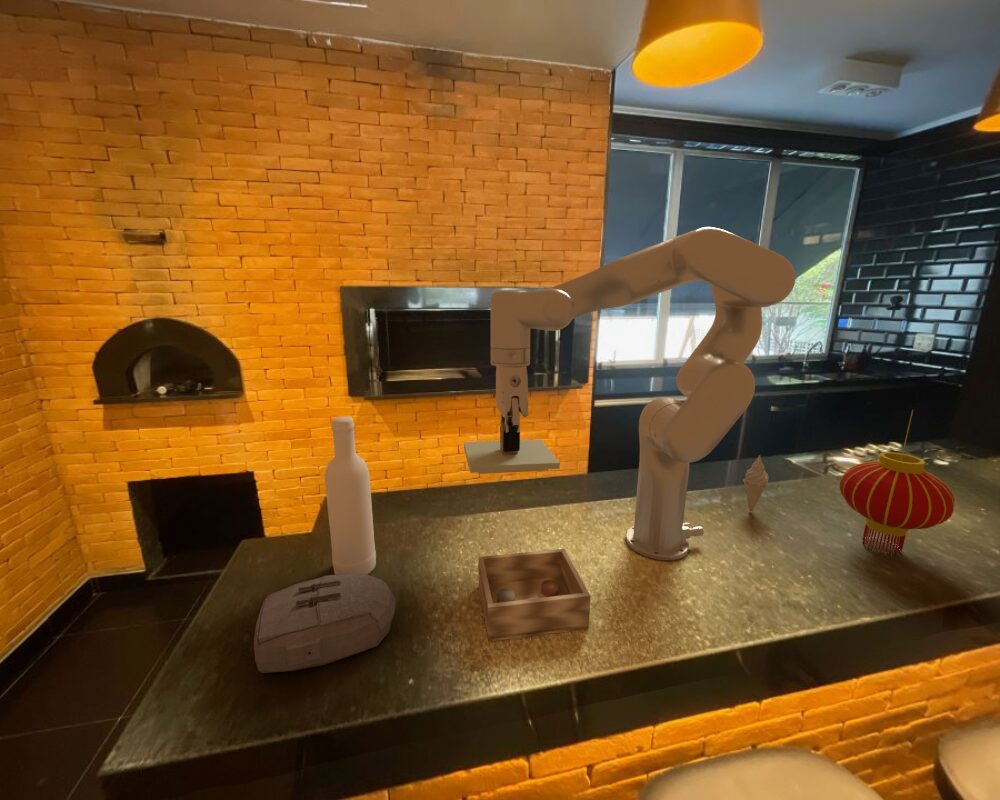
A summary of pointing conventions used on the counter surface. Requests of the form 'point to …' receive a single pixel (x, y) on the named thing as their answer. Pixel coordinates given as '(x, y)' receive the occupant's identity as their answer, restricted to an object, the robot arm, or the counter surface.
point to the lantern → (896, 496)
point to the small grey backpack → (322, 621)
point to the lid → (509, 456)
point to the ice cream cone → (755, 483)
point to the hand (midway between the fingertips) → (509, 446)
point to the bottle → (349, 504)
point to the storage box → (532, 594)
